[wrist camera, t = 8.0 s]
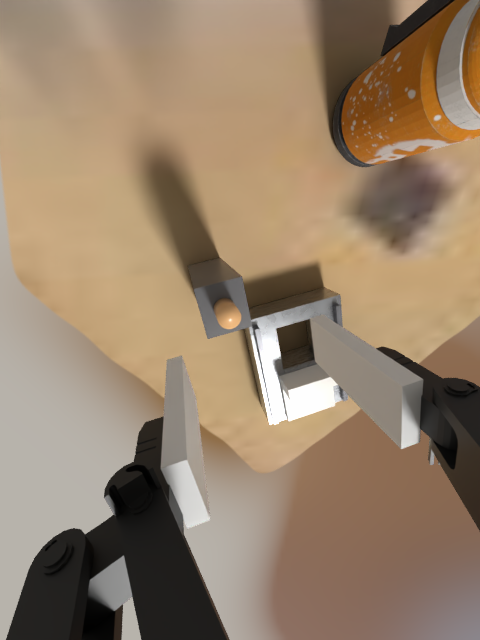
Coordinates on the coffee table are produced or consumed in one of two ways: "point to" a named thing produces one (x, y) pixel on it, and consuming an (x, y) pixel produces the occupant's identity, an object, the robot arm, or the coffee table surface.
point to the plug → (220, 297)
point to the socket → (274, 364)
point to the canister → (415, 88)
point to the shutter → (306, 391)
